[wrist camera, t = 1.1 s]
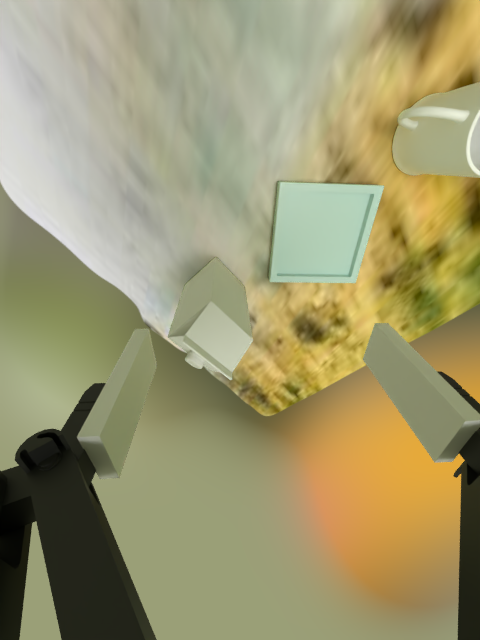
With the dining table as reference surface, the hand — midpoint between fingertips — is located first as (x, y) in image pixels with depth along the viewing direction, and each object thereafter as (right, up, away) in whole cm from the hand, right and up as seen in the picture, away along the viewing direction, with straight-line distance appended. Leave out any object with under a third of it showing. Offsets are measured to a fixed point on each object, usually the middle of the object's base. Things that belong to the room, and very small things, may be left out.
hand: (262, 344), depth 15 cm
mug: (+21, +25, +17) cm, 37 cm away
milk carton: (-6, +7, +27) cm, 29 cm away
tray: (+11, +14, +24) cm, 30 cm away
